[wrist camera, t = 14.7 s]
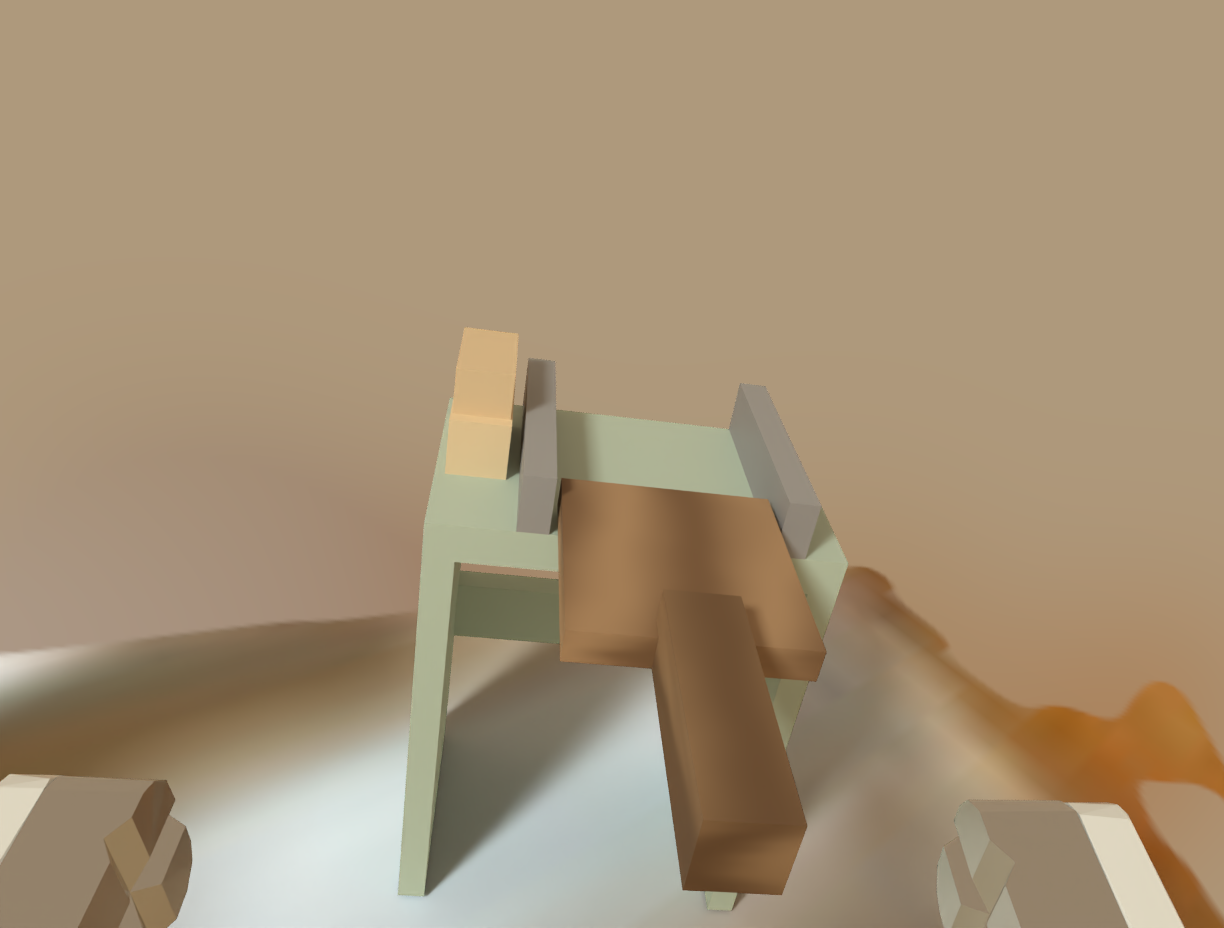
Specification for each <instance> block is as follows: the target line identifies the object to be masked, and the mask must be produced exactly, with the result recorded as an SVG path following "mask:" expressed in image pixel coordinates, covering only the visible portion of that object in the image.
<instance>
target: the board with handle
mask: <svg viewBox="0 0 1224 928" xmlns="http://www.w3.org/2000/svg"><path fill="white" fill-rule="evenodd" d="M557 512H558V572H559V633H560V661H563V662H576V663H589V664H601V665H614V666H626V667H639V668H651V669H652V674H653V681H654V688H655V695H656V702H657V710H658V717H659V724H660V731H661V738H662V745H663V753H664V760H665V767H666V774H667V781H668V788H669V796H670V803H671V810H672V817H673V824H674V831H675V839H676V846H677V853H678V860H679V867H680V874H681V882H682V889H683V890H690V891H710V892H730V893H750V894H770V895H782V893H783V890H784V888H785V885H786V882H787V880H788V877H789V874H790V871H791V869H792V866H793V863H794V861H795V858H796V855H797V853H798V850H799V847H800V845H801V842H802V839H803V837H804V834H805V831H806V829H807V823H806V820H805V816H804V813H803V809H802V806H801V802H800V799H799V795H798V792H797V788H796V785H795V781H794V778H793V774H792V771H791V768H790V764H789V761H788V757H787V754H786V750H785V747H784V743H783V740H782V736H781V733H780V729H779V726H778V722H777V719H776V715H775V712H774V708H773V705H772V701H771V698H770V694H769V691H768V688H767V684H766V681H765V678H777V679H790V680H802V681H815V682H816V681H817V678H818V675H819V672H820V670H821V667H822V664H823V661H824V658H825V655H826V649H825V647H824V644H823V641H822V639H821V636H820V633H819V631H818V628H817V626H816V623H815V620H814V618H813V615H812V613H811V610H810V607H809V605H808V602H807V599H806V597H805V594H804V592H803V589H802V586H801V584H800V581H799V579H798V576H797V573H796V571H795V568H794V565H793V563H792V560H791V558H790V555H789V552H788V550H787V547H786V545H785V542H784V539H783V537H782V534H781V531H780V529H779V526H778V524H777V521H776V518H775V516H774V513H773V511H772V508H771V505H770V503H769V500H768V499H760V498H750V497H741V496H731V495H722V494H712V493H702V492H693V491H683V490H674V489H664V488H654V487H645V486H635V485H626V484H616V483H606V482H597V481H587V480H578V479H568V478H561V484H560V491H559V497H558V504H557Z"/></svg>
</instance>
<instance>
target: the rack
mask: <svg viewBox="0 0 1224 928" xmlns="http://www.w3.org/2000/svg"><path fill="white" fill-rule="evenodd" d="M517 348H518V334H515V333H507V332H499V331H491V330H482V329H474V328H466V327H465V328H464V333H463V338H462V343H461V348H460V353H459V357H458V362H457V367H456V378H455V390H454V398H450V401H449V405H448V410H447V415H446V419H445V424H444V429H443V434H442V439H441V444H440V449H439V453H438V458H437V463H436V468H435V473H434V478H433V483H432V487H431V492H430V497H429V502H428V507H427V512H426V517H425V521H424V535H423V547H422V562H421V576H420V589H419V590H420V591H419V604H418V618H417V632H416V646H415V660H414V674H413V689H412V703H411V717H410V731H409V745H408V759H407V774H406V788H405V802H404V816H403V830H402V844H401V859H400V873H399V887H398V895H408V896H424V892H425V884H426V877H427V869H428V861H429V853H430V845H431V837H432V829H433V822H434V814H435V806H436V798H437V790H438V782H439V774H440V766H441V759H442V751H443V743H444V735H445V726H446V715H447V705H448V694H449V684H450V673H451V663H452V652H453V642H454V635H457V636H469V637H482V638H494V639H506V640H518V641H531V642H543V643H555V644H560V633H559V579H548V578H536V577H525V576H514V575H503V574H492V573H481V572H470V571H460V567H461V563H471V564H482V565H493V566H504V567H515V568H525V569H536V570H548V571H558V512H557V504H558V497H559V491H560V484H561V478H568V479H578V480H587V481H597V482H606V483H616V484H626V485H635V486H645V487H654V488H664V489H674V490H683V491H693V492H702V493H712V494H722V495H731V496H741V497H750V498H760V499H768V500H769V503H770V505H771V508H772V511H773V513H774V516H775V518H776V521H777V524H778V526H779V529H780V531H781V534H782V537H783V539H784V542H785V545H786V547H787V550H788V552H789V555H790V558H791V560H792V563H793V565H794V568H795V571H796V573H797V576H798V579H799V581H800V584H801V586H802V589H803V592H804V594H805V597H806V599H807V602H808V605H809V607H810V610H811V613H812V615H813V618H814V620H815V623H816V626H817V628H818V631H819V633H820V636H821V639H822V641H823V638H824V635H825V632H826V629H827V626H828V623H829V620H830V617H831V614H832V611H833V608H834V605H835V602H836V599H837V596H838V593H839V590H840V587H841V584H842V581H843V578H844V575H845V572H846V569H847V566H848V562H847V560H846V557H845V555H844V553H843V551H842V549H841V547H840V545H839V543H838V540H837V538H836V536H835V534H834V532H833V530H832V528H831V526H830V524H829V521H828V519H827V517H826V515H825V513H824V511H823V509H822V506H821V504H820V502H819V500H818V498H817V496H816V493H815V491H814V489H813V487H812V485H811V483H810V481H809V478H808V476H807V474H806V472H805V470H804V468H803V466H802V464H801V461H800V459H799V457H798V455H797V453H796V451H795V449H794V447H793V444H792V442H791V440H790V438H789V436H788V434H787V432H786V430H785V427H784V425H783V423H782V421H781V419H780V417H779V414H778V412H777V410H776V408H775V406H774V404H773V402H772V400H771V397H770V395H769V393H768V391H767V389H766V387H765V386H758V385H750V384H742V383H740V386H739V390H738V395H737V398H736V402H735V406H734V411H733V415H732V419H731V423H730V427H729V429H723V428H714V427H705V426H696V425H688V424H679V423H670V422H660V421H652V420H644V419H635V418H625V417H617V416H608V415H599V414H591V413H582V412H572V411H563V410H556V376H555V374H556V373H555V361H550V360H541V359H533V358H529V359H528V368H527V376H526V384H525V392H524V401H523V406H520V405H514V392H515V378H516V363H517ZM765 681H766V684H767V688H768V691H769V694H770V698H771V701H772V705H773V708H774V712H775V715H776V719H777V722H778V726H779V729H780V733H781V736H782V740H783V743H784V747H785V750H786V747H787V744H788V741H789V738H790V735H791V733H792V730H793V727H794V724H795V721H796V718H797V715H798V712H799V709H800V706H801V703H802V700H803V697H804V694H805V691H806V688H807V685H808V682H809V681H802V680H790V679H777V678H765ZM736 896H737V893H730V892H710V891H705V898H706V904H707V910H727V911H732V908H733V905H734V902H735V899H736Z"/></svg>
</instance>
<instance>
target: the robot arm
mask: <svg viewBox="0 0 1224 928" xmlns="http://www.w3.org/2000/svg"><path fill="white" fill-rule="evenodd" d="M174 802H175V798H174V796H173V794H172V791H171V789H170V787H169V785H168V783H167V781H166V780H154V779H128V778H102V777H76V776H64V775H29V774H9V775H8V776H7V777H5V778H4V779H3V780H2V781H1V782H0V928H167V927H168V926H169V925H170V924H171V923H173V922H174V921H175V920H176V919H177V916H178V914H179V911H180V908H181V906H182V903H183V900H184V898H185V895H186V892H187V889H188V883H189V877H190V872H191V866H192V849H191V840H190V837H189V834H188V831H187V829H186V826H185V825H183V824H182V823H180V822H179V821H177V820H176V819H174V818H173V817H172V816H170V815H169V813H170V811H171V808H172V806H173V804H174ZM954 822H955V826H956V829H957V832H958V835H959V837H957V838H955V839H954V840H952V841H951V842H949V843H948V844H946V845H944V847H943V850H942V853H941V856H940V859H939V862H938V865H937V898H938V904H939V911H940V916H941V920H942V923H943V927H944V928H1185V927H1184V925H1183V923H1182V921H1181V919H1180V917H1179V915H1178V913H1177V911H1176V909H1175V907H1174V905H1173V903H1172V901H1171V899H1170V897H1169V895H1168V893H1167V891H1166V889H1165V887H1164V885H1163V883H1162V881H1161V879H1160V877H1159V875H1158V873H1157V871H1156V869H1155V867H1154V865H1153V864H1152V862H1151V860H1150V858H1149V856H1148V854H1147V852H1146V850H1145V848H1144V846H1143V844H1142V842H1141V840H1140V838H1139V836H1138V834H1137V832H1136V830H1135V828H1134V826H1133V824H1132V822H1131V820H1130V818H1129V816H1128V814H1127V813H1126V812H1125V811H1124V810H1123V809H1122V808H1121V807H1120V806H1119V805H1117V804H1112V803H1081V802H1062V801H1046V800H967V801H966V802H964V803H963V804H961V805H960V806H959V809H958V811H957V814H956V816H955V818H954Z"/></svg>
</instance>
